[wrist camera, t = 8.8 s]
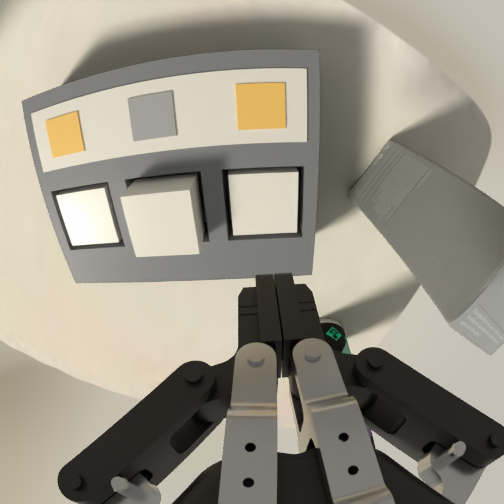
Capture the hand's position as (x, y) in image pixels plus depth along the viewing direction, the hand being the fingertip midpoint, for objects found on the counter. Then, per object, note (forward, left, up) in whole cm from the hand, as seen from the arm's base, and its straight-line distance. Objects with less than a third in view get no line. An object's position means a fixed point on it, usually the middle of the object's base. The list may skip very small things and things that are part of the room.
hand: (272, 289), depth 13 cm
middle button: (-6, 0, -9) cm, 11 cm away
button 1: (0, 0, -12) cm, 12 cm away
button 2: (-13, 0, -12) cm, 17 cm away
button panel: (-6, +2, -14) cm, 15 cm away
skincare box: (+13, -1, -14) cm, 19 cm away
